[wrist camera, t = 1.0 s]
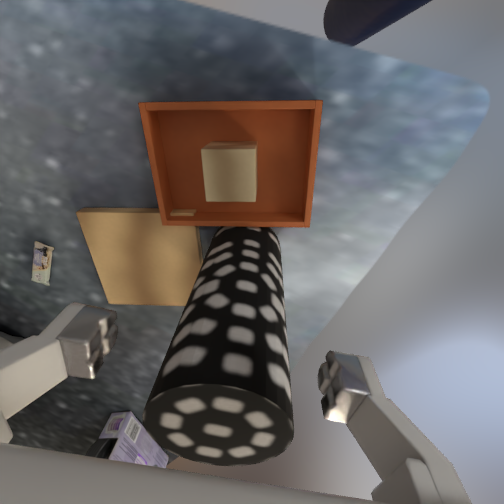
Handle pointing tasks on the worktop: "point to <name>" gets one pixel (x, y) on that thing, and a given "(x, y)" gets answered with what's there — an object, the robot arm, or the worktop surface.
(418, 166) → the worktop surface
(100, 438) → the cake pan box
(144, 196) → the worktop surface
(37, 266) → the granola bar
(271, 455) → the white-spotted black cylinder
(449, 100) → the worktop surface
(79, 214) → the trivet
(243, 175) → the block
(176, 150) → the orange-brown tray
